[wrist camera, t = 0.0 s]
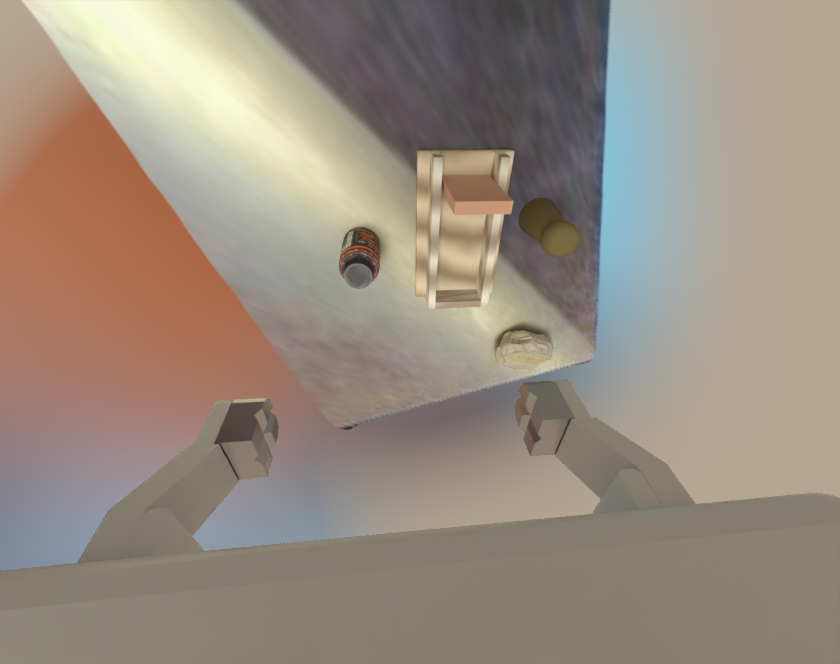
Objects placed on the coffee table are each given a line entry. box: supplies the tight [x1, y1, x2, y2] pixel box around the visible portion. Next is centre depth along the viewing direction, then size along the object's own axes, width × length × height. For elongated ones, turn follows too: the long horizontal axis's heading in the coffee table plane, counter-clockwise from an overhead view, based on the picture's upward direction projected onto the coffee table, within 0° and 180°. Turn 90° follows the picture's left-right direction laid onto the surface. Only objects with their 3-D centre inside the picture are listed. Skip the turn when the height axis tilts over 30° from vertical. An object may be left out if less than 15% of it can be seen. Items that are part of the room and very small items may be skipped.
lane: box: [415, 150, 514, 309], centre depth 57 cm, size 24×14×5 cm, turn 179°
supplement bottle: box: [339, 228, 380, 289], centre depth 54 cm, size 6×6×11 cm
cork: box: [519, 198, 579, 257], centre depth 54 cm, size 6×6×11 cm
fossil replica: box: [495, 330, 554, 370], centre depth 72 cm, size 12×8×10 cm
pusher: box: [441, 175, 513, 215], centre depth 48 cm, size 2×7×12 cm, turn 89°
